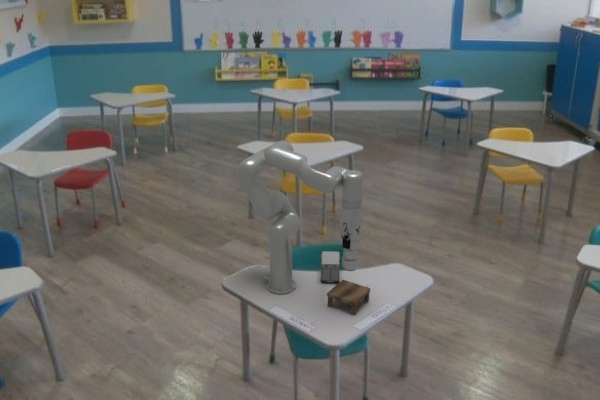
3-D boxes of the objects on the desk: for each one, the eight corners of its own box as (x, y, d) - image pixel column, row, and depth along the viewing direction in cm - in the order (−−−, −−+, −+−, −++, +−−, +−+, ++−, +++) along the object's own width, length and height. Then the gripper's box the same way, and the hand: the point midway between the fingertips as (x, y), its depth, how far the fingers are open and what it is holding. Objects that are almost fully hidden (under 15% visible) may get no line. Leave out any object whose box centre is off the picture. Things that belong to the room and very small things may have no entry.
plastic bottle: (349, 274, 224) (350, 228, 216) (338, 268, 229) (339, 222, 222) (361, 270, 228) (363, 224, 220) (350, 263, 233) (351, 218, 225)
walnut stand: (326, 305, 233) (326, 293, 231) (342, 291, 243) (342, 279, 241) (354, 315, 226) (355, 302, 224) (369, 300, 236) (370, 288, 234)
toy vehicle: (340, 265, 264) (341, 246, 261) (341, 284, 249) (341, 264, 245) (320, 264, 265) (320, 245, 261) (319, 284, 249) (319, 263, 245)
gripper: (354, 193, 226) (352, 234, 233) (332, 208, 213) (331, 250, 220) (371, 197, 222) (369, 238, 229) (349, 212, 209) (348, 255, 216)
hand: (350, 244), depth 224 cm, fingers closed on plastic bottle, 6 cm apart
